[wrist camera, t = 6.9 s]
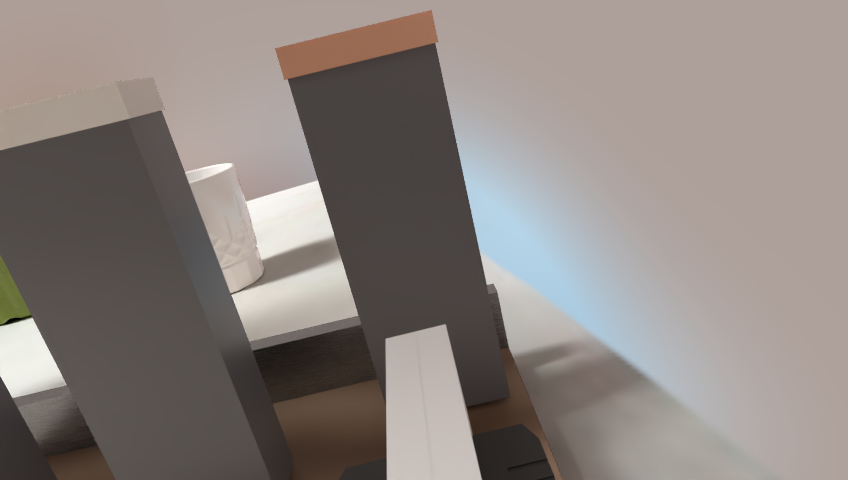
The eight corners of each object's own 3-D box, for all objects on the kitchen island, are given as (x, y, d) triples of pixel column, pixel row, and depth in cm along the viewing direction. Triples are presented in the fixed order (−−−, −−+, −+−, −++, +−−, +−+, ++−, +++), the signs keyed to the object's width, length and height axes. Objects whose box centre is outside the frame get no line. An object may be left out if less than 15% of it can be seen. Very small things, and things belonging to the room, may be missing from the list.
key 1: (513, 396, 23) (431, 9, 18) (389, 425, 23) (274, 48, 18) (500, 363, 26) (426, 14, 21) (388, 389, 26) (288, 48, 21)
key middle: (285, 509, 20) (115, 81, 15) (143, 542, 20) (-71, 127, 15) (296, 458, 23) (152, 77, 18) (170, 488, 23) (-8, 116, 18)
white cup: (242, 261, 56) (207, 164, 53) (287, 269, 51) (251, 161, 47) (167, 297, 51) (123, 192, 48) (209, 310, 45) (162, 192, 42)
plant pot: (114, 275, 62) (70, 177, 59) (33, 329, 51) (-27, 212, 48) (24, 292, 64) (-24, 199, 61) (-73, 347, 53) (-138, 237, 50)
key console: (582, 549, 18) (561, 433, 16) (-158, 720, 18) (-242, 622, 17) (510, 363, 29) (493, 283, 27) (42, 473, 29) (2, 400, 27)
